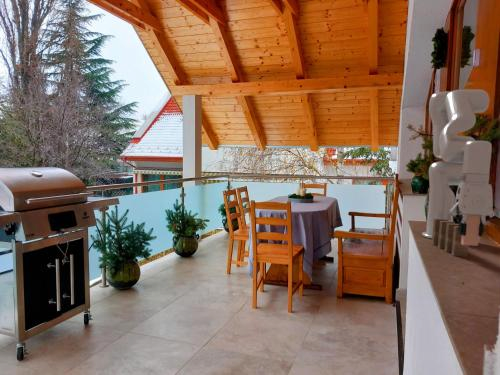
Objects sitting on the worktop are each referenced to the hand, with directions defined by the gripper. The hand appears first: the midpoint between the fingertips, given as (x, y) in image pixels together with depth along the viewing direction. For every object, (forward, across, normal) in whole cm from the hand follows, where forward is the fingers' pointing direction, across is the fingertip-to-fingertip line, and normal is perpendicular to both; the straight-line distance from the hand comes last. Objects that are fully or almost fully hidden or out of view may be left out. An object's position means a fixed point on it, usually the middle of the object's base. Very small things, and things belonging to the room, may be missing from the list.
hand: (470, 234), depth 124 cm
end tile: (+3, 0, 0) cm, 3 cm away
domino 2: (+8, 0, +15) cm, 18 cm away
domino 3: (+8, 0, +10) cm, 13 cm away
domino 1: (+8, 0, +20) cm, 22 cm away
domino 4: (+9, 0, +5) cm, 10 cm away
